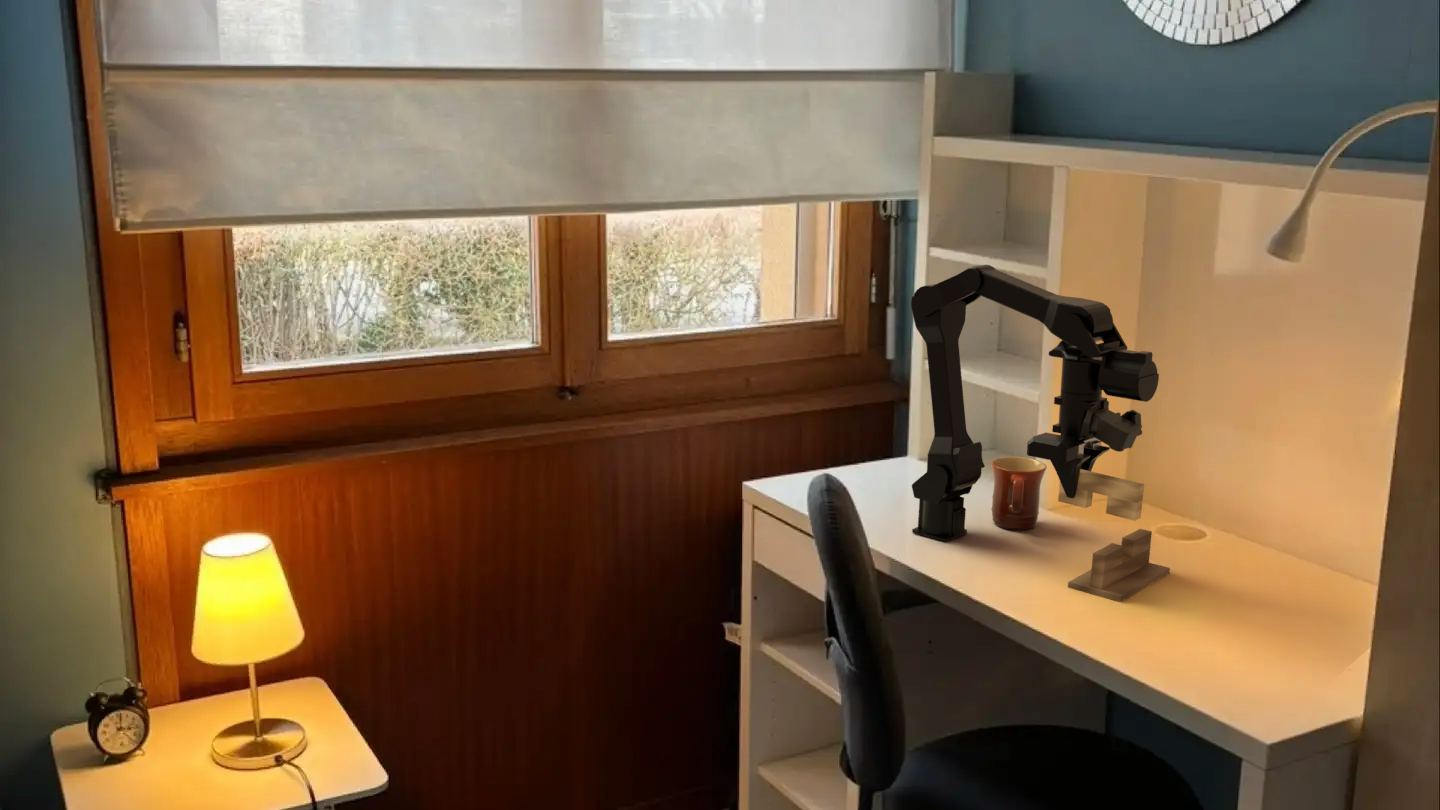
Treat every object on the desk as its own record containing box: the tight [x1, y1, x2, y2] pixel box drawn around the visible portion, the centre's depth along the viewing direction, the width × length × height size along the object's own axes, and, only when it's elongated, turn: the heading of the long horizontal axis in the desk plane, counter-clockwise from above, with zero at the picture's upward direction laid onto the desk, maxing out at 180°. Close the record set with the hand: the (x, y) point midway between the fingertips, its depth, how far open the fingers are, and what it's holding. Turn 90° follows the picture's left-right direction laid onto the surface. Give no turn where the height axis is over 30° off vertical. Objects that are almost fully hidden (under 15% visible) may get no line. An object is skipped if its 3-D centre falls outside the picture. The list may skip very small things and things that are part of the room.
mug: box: [990, 456, 1047, 531], centre depth 221 cm, size 12×9×10 cm
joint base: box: [1067, 528, 1171, 603], centre depth 199 cm, size 8×16×6 cm, turn 138°
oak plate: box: [1057, 469, 1145, 522], centre depth 197 cm, size 12×2×5 cm, turn 47°
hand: (1074, 496), depth 200 cm, fingers closed on oak plate, 2 cm apart
